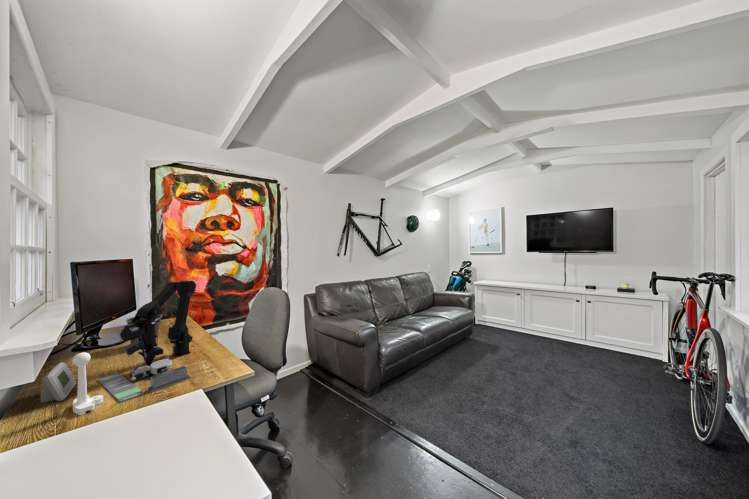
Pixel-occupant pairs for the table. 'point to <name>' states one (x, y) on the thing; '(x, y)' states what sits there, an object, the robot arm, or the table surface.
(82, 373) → the joystick
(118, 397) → the scale strip
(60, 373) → the digital clock
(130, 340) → the plant pot
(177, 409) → the table surface
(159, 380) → the grey wedge block
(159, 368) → the robot toy
